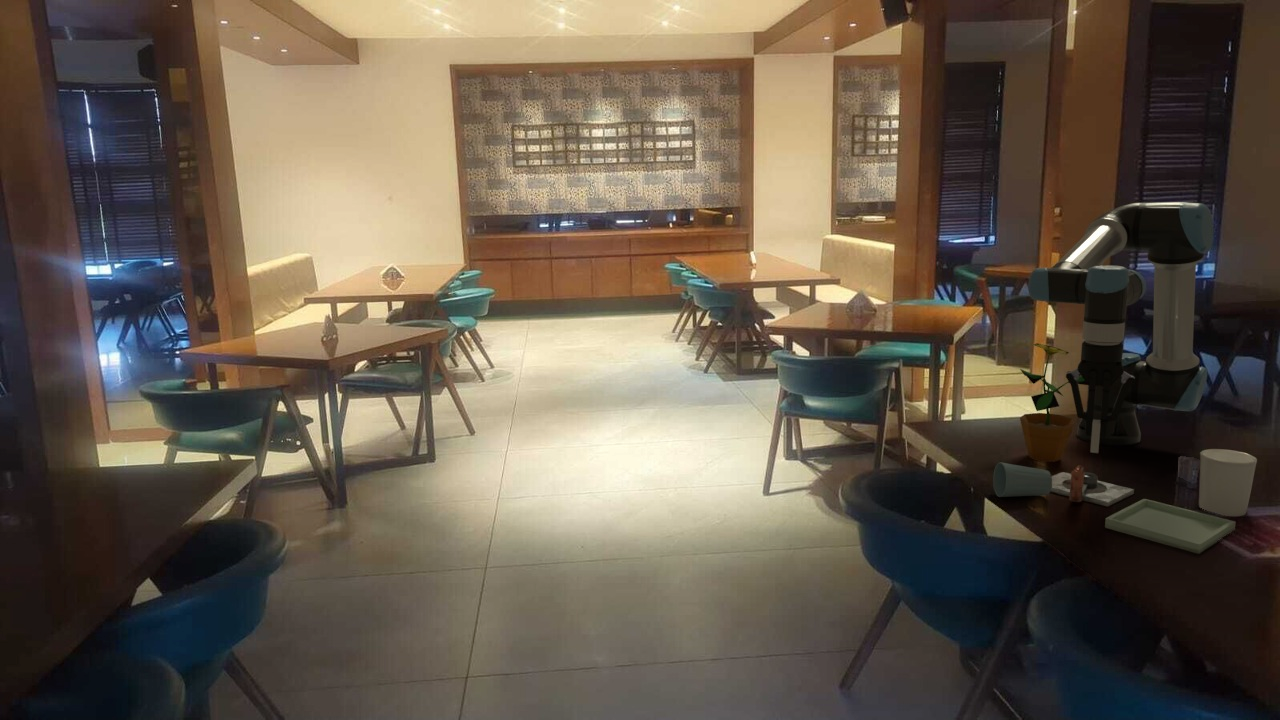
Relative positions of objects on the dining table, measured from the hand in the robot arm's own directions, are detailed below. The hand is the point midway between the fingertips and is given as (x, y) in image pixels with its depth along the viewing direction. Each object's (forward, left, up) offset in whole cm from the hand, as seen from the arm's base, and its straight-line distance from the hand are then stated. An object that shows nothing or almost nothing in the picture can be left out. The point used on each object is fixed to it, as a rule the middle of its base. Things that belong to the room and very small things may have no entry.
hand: (1094, 450), depth 182 cm
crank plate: (-9, -6, -13) cm, 17 cm away
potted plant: (-26, -24, -13) cm, 37 cm away
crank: (-9, -6, -11) cm, 16 cm away
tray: (+1, +16, -13) cm, 20 cm away
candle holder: (-19, +18, -13) cm, 29 cm away
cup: (+2, -10, -14) cm, 17 cm away
